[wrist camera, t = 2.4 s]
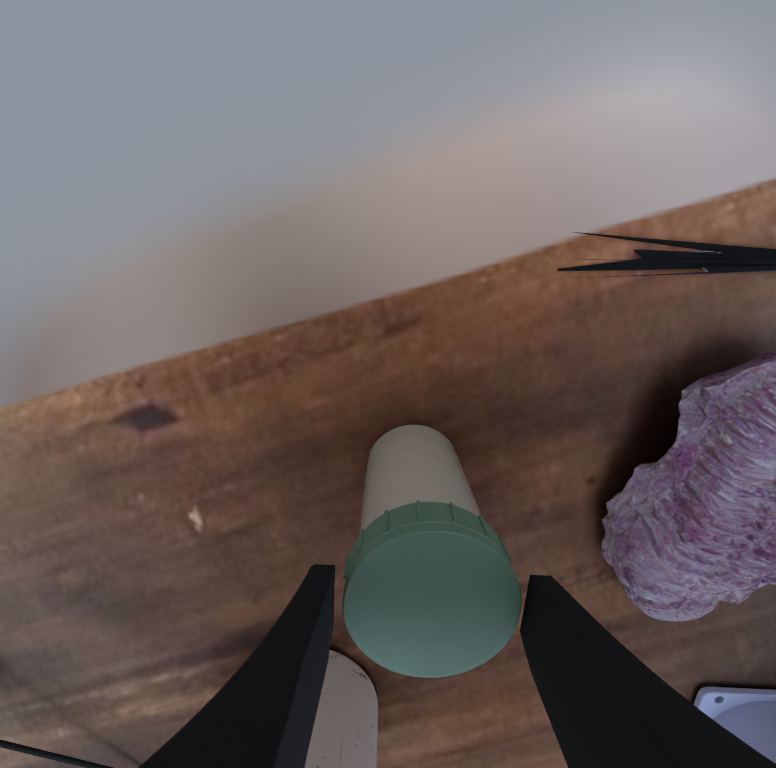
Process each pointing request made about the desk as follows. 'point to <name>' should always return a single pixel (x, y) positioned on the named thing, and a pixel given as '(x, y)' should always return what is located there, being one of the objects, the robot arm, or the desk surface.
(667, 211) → the desk surface
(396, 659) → the lid
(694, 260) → the feather
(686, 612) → the fossil
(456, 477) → the jar
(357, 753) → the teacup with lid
